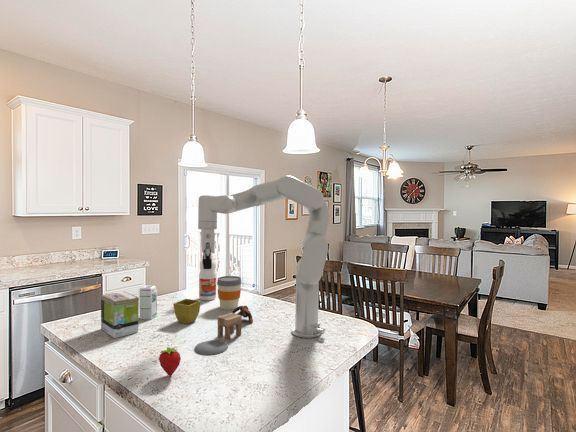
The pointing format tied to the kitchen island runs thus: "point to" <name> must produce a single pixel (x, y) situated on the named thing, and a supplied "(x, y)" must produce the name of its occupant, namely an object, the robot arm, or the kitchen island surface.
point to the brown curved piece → (243, 312)
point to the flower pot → (187, 310)
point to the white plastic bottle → (207, 281)
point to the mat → (211, 347)
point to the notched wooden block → (229, 324)
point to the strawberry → (169, 360)
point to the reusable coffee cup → (229, 291)
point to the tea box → (119, 314)
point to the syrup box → (148, 302)
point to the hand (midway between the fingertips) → (206, 266)
